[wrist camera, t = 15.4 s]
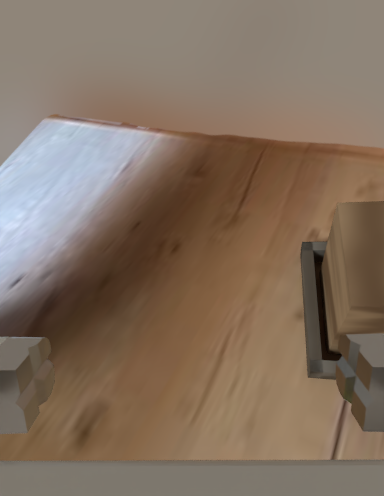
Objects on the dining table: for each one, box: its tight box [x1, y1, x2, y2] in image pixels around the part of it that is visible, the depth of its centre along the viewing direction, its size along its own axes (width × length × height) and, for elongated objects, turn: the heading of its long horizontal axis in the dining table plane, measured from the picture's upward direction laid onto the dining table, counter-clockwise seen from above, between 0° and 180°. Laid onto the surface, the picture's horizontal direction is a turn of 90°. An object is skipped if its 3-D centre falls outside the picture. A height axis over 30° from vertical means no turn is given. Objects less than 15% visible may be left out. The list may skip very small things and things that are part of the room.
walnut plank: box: [320, 201, 384, 355], centre depth 34 cm, size 4×10×14 cm, turn 173°
